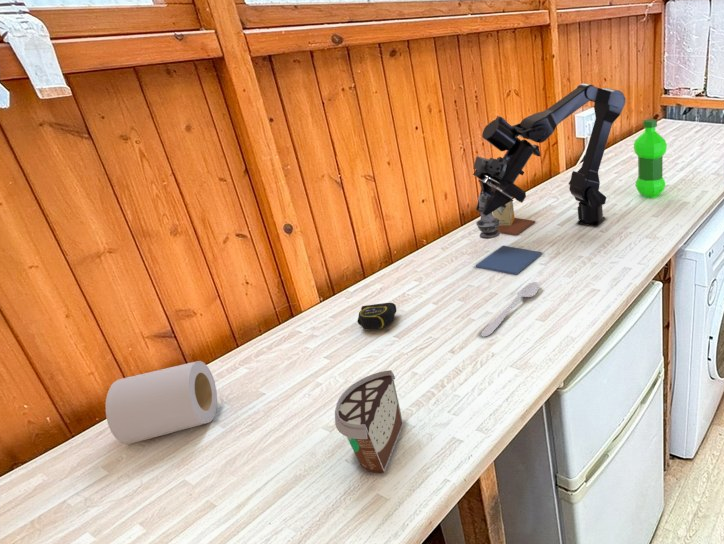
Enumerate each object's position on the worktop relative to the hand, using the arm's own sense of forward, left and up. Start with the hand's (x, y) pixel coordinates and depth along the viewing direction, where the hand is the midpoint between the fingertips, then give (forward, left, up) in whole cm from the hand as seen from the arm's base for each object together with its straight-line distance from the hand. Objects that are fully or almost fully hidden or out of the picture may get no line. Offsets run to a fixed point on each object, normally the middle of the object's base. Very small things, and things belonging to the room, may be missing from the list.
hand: (481, 212), depth 131 cm
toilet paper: (+11, +68, -12) cm, 70 cm away
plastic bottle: (-25, -57, -12) cm, 63 cm away
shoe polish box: (+8, -20, -12) cm, 24 cm away
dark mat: (+6, -19, -12) cm, 23 cm away
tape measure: (+3, +34, -12) cm, 37 cm away
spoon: (-21, +20, -12) cm, 32 cm away
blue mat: (-7, 0, -12) cm, 14 cm away
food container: (-23, +60, -12) cm, 66 cm away
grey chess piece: (-1, -1, -7) cm, 7 cm away
